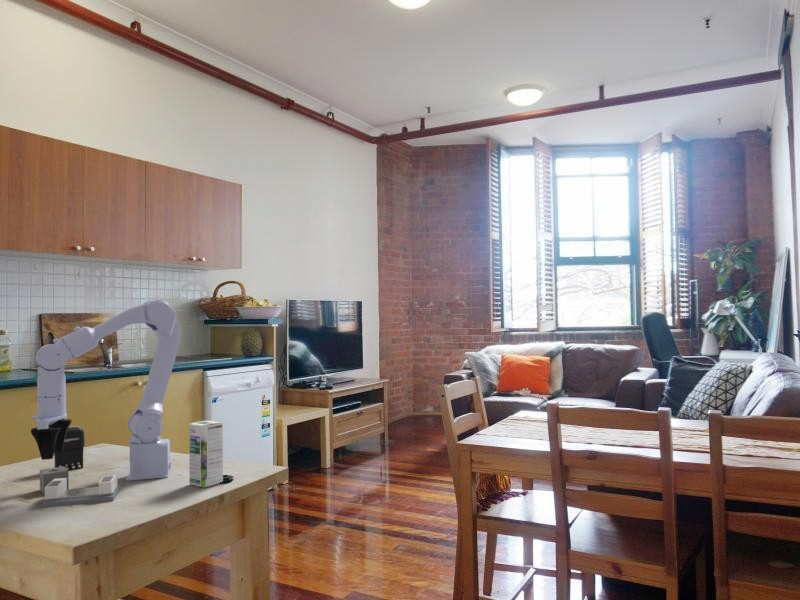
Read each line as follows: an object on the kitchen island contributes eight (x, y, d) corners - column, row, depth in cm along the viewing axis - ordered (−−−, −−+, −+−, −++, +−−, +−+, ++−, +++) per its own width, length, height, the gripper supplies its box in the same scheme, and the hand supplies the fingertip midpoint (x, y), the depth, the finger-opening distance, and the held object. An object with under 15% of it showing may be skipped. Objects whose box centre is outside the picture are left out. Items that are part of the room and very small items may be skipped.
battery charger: (56, 475, 153) (55, 430, 153) (52, 472, 156) (52, 428, 156) (86, 470, 157) (85, 426, 158) (82, 467, 160) (82, 424, 160)
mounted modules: (117, 484, 138) (117, 472, 138) (111, 493, 131) (111, 481, 131) (54, 490, 135) (54, 478, 135) (44, 499, 128) (44, 486, 128)
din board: (120, 489, 139) (120, 483, 139) (113, 501, 130) (113, 494, 130) (53, 495, 135) (53, 489, 135) (40, 508, 127) (40, 501, 127)
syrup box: (188, 484, 142) (187, 423, 142) (209, 478, 147) (208, 419, 147) (203, 488, 139) (202, 425, 139) (224, 482, 143) (223, 421, 144)
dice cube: (43, 496, 135) (43, 474, 135) (39, 491, 139) (39, 470, 139) (68, 492, 138) (68, 470, 138) (64, 487, 142) (64, 466, 142)
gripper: (42, 393, 145) (42, 449, 145) (21, 401, 131) (21, 464, 131) (74, 391, 147) (75, 447, 146) (57, 399, 133) (58, 461, 132)
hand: (52, 455), depth 139 cm, fingers open, 7 cm apart
